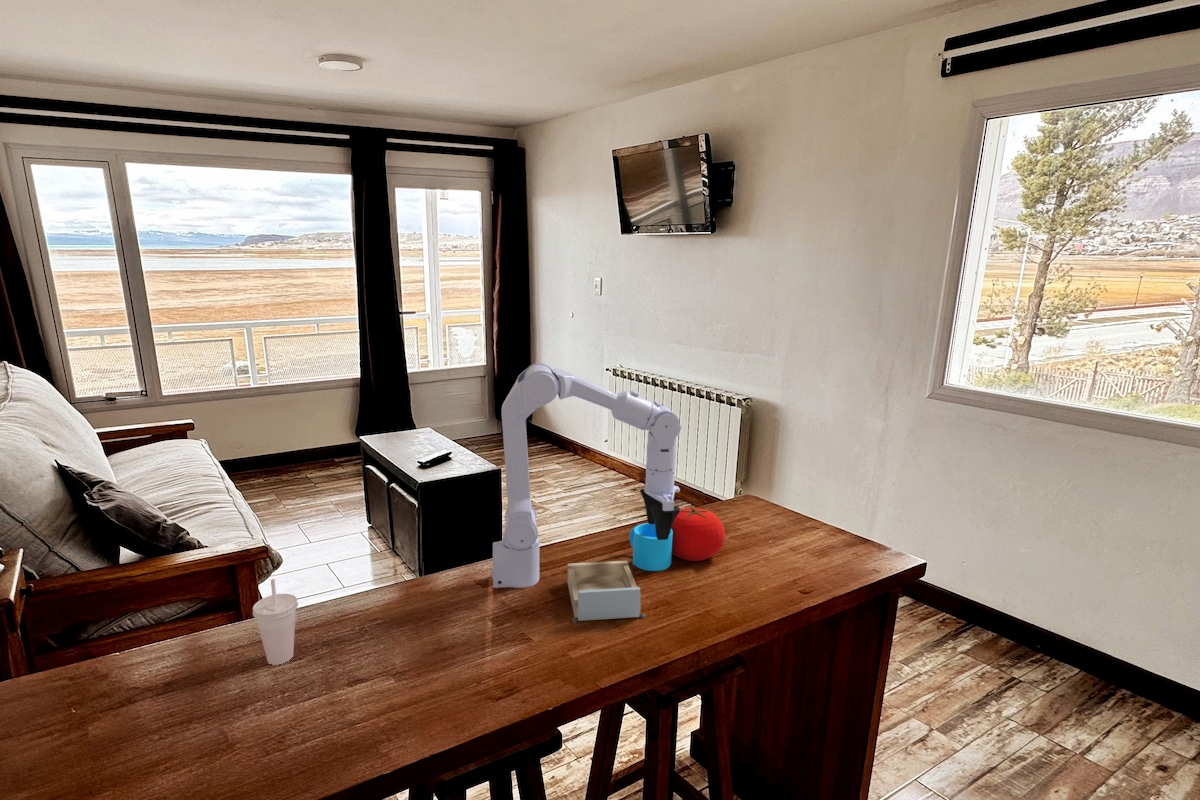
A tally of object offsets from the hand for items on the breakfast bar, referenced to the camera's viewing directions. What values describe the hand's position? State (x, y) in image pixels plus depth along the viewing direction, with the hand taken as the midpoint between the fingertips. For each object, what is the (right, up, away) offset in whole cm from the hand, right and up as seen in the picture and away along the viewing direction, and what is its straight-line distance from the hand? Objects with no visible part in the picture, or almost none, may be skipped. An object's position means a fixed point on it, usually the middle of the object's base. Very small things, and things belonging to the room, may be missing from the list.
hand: (657, 530), depth 129 cm
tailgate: (-10, -12, -16) cm, 23 cm away
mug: (-2, -9, +8) cm, 12 cm away
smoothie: (-63, -15, -27) cm, 70 cm away
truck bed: (-11, -12, -8) cm, 18 cm away
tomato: (+9, -8, +12) cm, 17 cm away
